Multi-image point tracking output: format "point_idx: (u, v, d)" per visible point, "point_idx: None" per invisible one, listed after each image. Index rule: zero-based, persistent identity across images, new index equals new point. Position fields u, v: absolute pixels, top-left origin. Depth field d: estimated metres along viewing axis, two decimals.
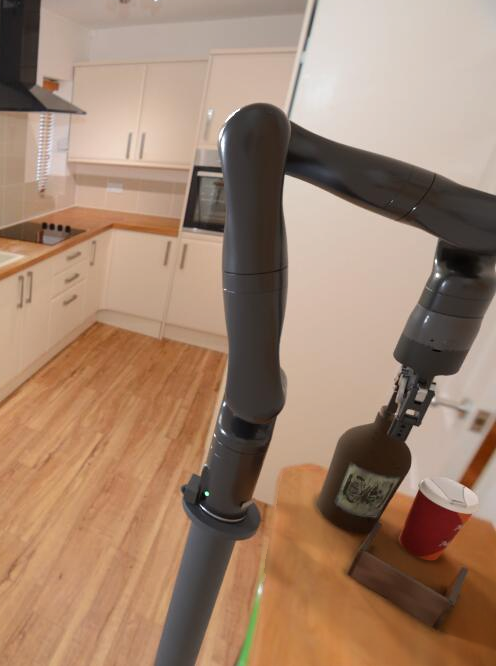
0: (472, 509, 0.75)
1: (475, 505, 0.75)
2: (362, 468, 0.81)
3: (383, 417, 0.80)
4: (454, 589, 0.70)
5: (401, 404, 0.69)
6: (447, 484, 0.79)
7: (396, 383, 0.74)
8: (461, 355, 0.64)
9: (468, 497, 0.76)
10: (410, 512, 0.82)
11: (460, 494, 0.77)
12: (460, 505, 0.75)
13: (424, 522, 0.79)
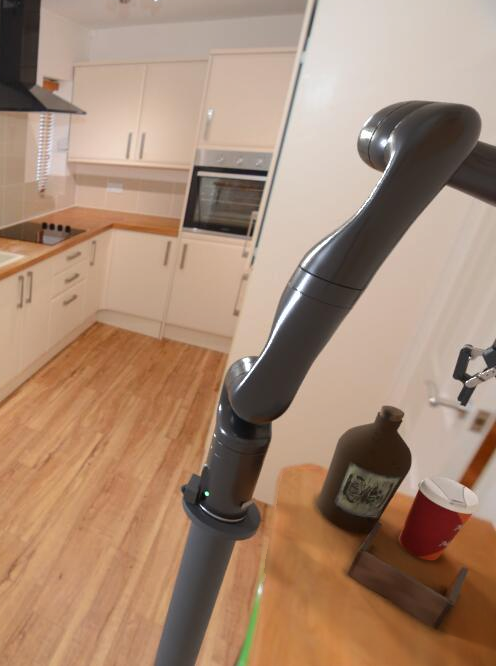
0: (472, 509, 0.75)
1: (475, 505, 0.75)
2: (362, 468, 0.81)
3: (383, 417, 0.80)
4: (454, 589, 0.70)
5: None
6: (446, 484, 0.79)
7: (488, 379, 0.76)
8: None
9: (468, 497, 0.76)
10: (410, 512, 0.82)
11: (460, 494, 0.77)
12: (460, 505, 0.75)
13: (424, 522, 0.79)
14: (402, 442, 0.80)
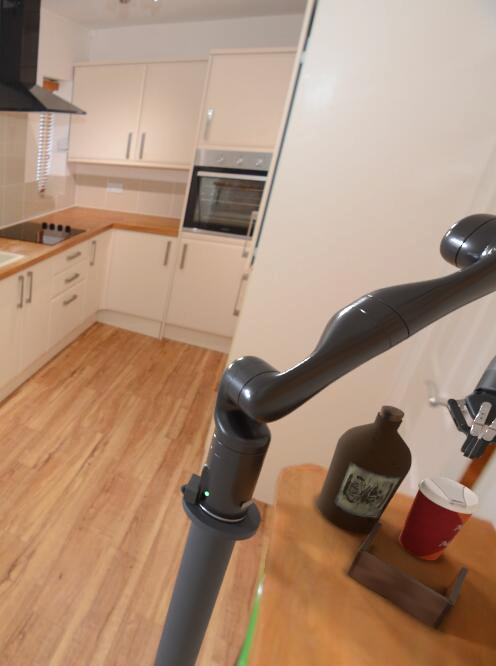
0: (472, 509, 0.75)
1: (475, 505, 0.75)
2: (362, 468, 0.81)
3: (383, 417, 0.80)
4: (454, 589, 0.70)
5: None
6: (446, 484, 0.79)
7: (484, 421, 0.85)
8: None
9: (468, 497, 0.76)
10: (410, 512, 0.82)
11: (460, 494, 0.77)
12: (460, 505, 0.75)
13: (424, 522, 0.79)
14: (402, 442, 0.80)
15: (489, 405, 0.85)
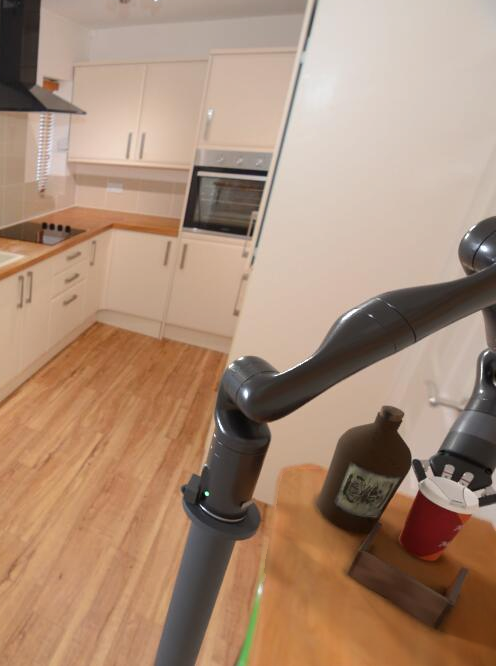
0: (472, 509, 0.75)
1: (475, 506, 0.75)
2: (362, 468, 0.81)
3: (383, 417, 0.80)
4: (454, 589, 0.70)
5: None
6: (447, 485, 0.79)
7: None
8: None
9: (468, 497, 0.76)
10: (410, 512, 0.82)
11: (460, 494, 0.77)
12: (460, 505, 0.75)
13: (423, 522, 0.79)
14: (402, 442, 0.80)
15: (452, 468, 0.84)
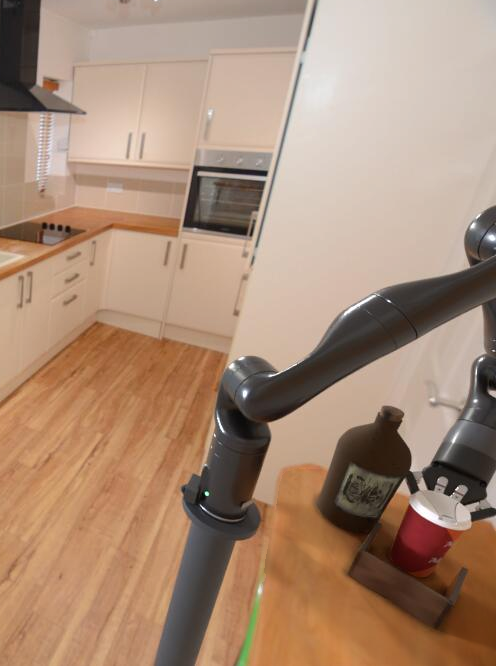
0: (463, 526, 0.72)
1: (466, 522, 0.72)
2: (362, 468, 0.81)
3: (383, 417, 0.80)
4: (454, 589, 0.70)
5: None
6: (439, 499, 0.76)
7: None
8: None
9: (460, 513, 0.73)
10: (400, 526, 0.79)
11: (452, 510, 0.74)
12: (450, 521, 0.72)
13: (413, 536, 0.77)
14: (402, 442, 0.80)
15: (445, 480, 0.81)
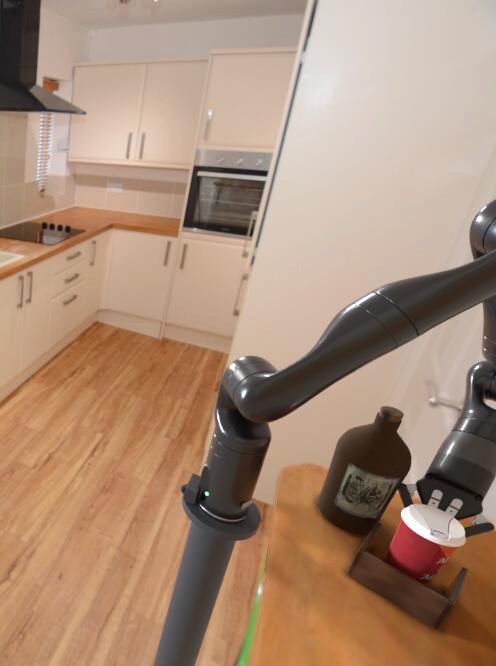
0: (456, 542, 0.69)
1: (459, 538, 0.69)
2: (361, 468, 0.81)
3: (382, 417, 0.80)
4: (454, 589, 0.70)
5: None
6: (432, 514, 0.73)
7: None
8: None
9: (454, 529, 0.70)
10: (392, 540, 0.77)
11: (445, 525, 0.71)
12: (442, 536, 0.70)
13: (404, 552, 0.74)
14: (401, 443, 0.80)
15: (440, 494, 0.78)
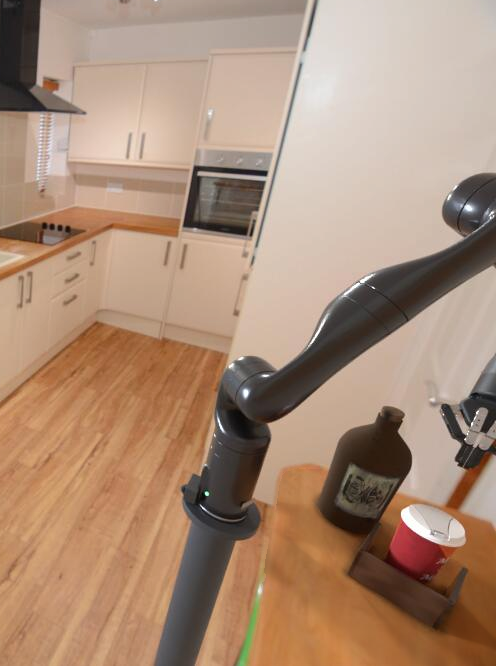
0: (456, 542, 0.69)
1: (459, 538, 0.69)
2: (362, 468, 0.81)
3: (383, 417, 0.80)
4: (454, 589, 0.70)
5: (493, 441, 0.77)
6: (432, 514, 0.73)
7: (480, 429, 0.78)
8: None
9: (454, 529, 0.70)
10: (392, 540, 0.77)
11: (445, 525, 0.71)
12: (442, 537, 0.70)
13: (404, 552, 0.74)
14: (402, 443, 0.80)
15: (485, 411, 0.78)
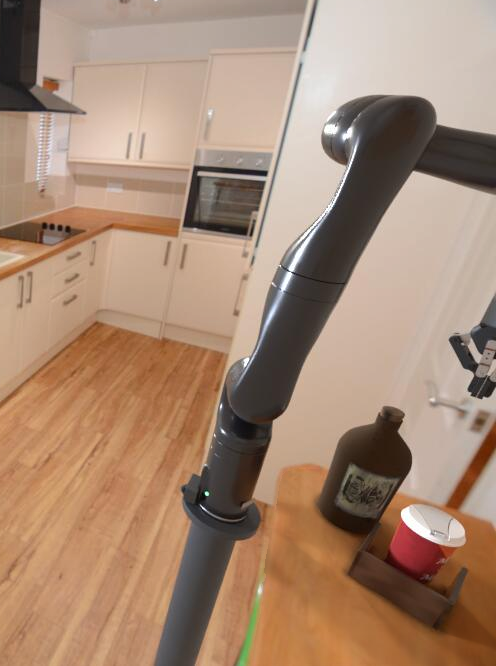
0: (456, 542, 0.69)
1: (459, 538, 0.69)
2: (362, 468, 0.81)
3: (383, 417, 0.80)
4: (454, 589, 0.70)
5: None
6: (432, 514, 0.73)
7: (491, 362, 0.73)
8: None
9: (454, 529, 0.70)
10: (392, 540, 0.77)
11: (445, 525, 0.71)
12: (442, 537, 0.70)
13: (404, 552, 0.74)
14: (402, 443, 0.80)
15: (495, 344, 0.72)
